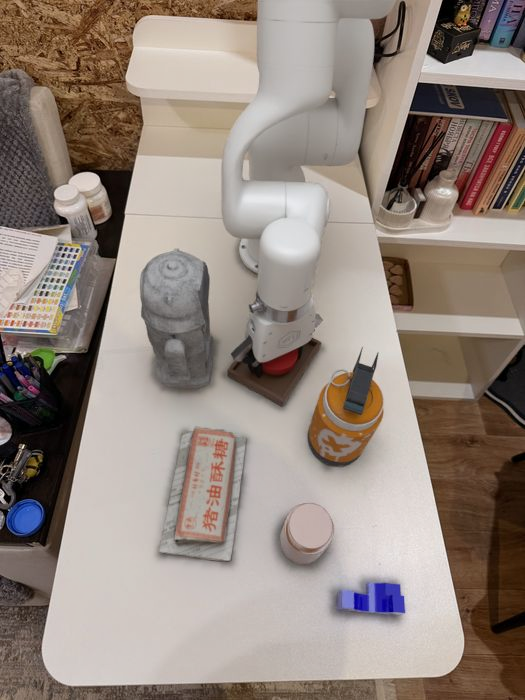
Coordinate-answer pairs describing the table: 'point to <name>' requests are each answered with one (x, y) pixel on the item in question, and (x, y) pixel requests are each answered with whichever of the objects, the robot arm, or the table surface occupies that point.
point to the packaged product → (204, 495)
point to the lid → (281, 363)
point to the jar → (306, 533)
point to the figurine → (178, 318)
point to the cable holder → (373, 599)
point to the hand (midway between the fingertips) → (275, 361)
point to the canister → (346, 415)
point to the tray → (275, 376)
